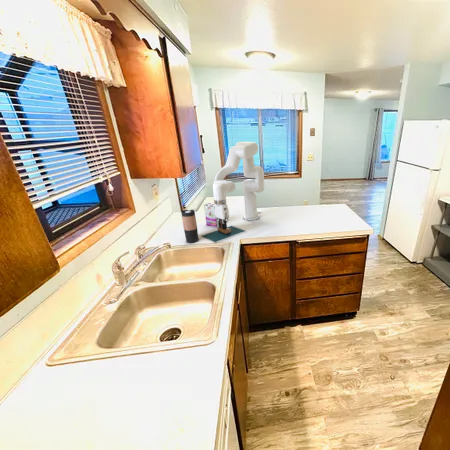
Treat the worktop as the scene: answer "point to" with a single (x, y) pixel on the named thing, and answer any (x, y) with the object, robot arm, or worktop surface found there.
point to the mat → (218, 236)
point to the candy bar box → (210, 215)
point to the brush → (224, 230)
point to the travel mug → (190, 226)
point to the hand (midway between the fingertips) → (223, 227)
